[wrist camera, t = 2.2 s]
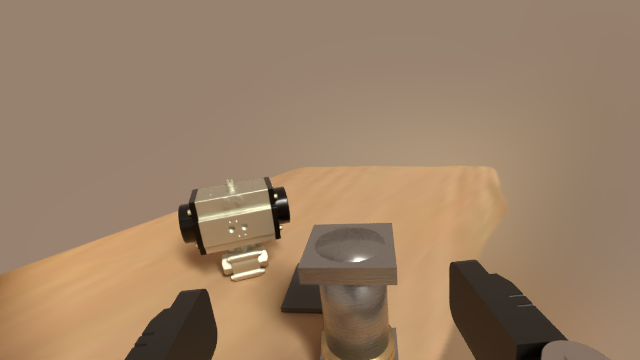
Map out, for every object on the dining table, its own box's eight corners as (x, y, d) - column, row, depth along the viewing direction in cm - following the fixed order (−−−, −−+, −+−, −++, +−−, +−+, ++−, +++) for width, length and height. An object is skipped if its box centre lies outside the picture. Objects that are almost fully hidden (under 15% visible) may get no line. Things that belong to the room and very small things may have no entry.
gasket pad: (281, 311, 33) (281, 307, 33) (298, 266, 41) (298, 263, 41) (362, 313, 32) (361, 309, 32) (364, 266, 40) (364, 263, 39)
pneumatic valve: (199, 273, 42) (177, 182, 38) (291, 252, 44) (278, 165, 41) (195, 299, 37) (169, 198, 33) (299, 275, 39) (286, 178, 36)
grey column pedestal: (316, 399, 24) (297, 267, 21) (327, 336, 30) (314, 224, 26) (401, 405, 23) (396, 267, 20) (396, 339, 29) (391, 223, 25)
